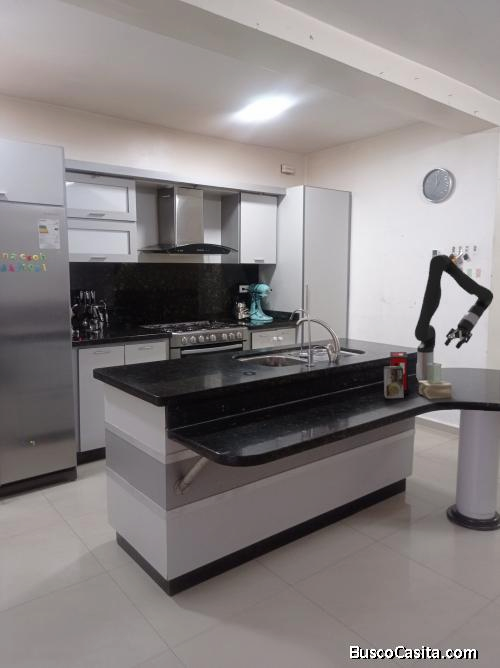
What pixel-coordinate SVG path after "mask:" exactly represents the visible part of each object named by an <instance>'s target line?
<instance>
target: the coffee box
mask: <svg viewBox="0 0 500 668" xmlns="http://www.w3.org/2000/svg"><path fill="white" fill-rule="evenodd" d="M383 385H384V386H383V387H384V388H383V389H384V390H383V392H384V394H383V395H384V398H385V399H404V398H405V397H404V396H405V395H404V394H405V393H404V391H403V368H402V367H401V366H390V365H387V366H386V365H385V366H383Z"/></svg>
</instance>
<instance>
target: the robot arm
mask: <svg viewBox="0 0 500 668" xmlns="http://www.w3.org/2000/svg"><path fill="white" fill-rule="evenodd" d="M428 269H429V270H428V277H427V281H426V286H425V291H424V295H423V299H422V305H421V309H420V313H419V316H418V320H417V323H416V326H415V329H414V337H415V339H416V340H417V341H419V342H420V344H418V346H417V348H416V349H417V351H416V352H417V354H416V355H417V358H416V360H417V361H416V362H417V363H416V364H415V365H416V367H415V368H416V373H415V374H416V375H415V376H416V378H417V381H423V380H427V364H429V363H435V361H434V359H435V357H434V356H435V354H434V352H435V351H434V349H435V347H436V335H437V334H436V329H435V326H433V325H432V324H430V323H431V321H432V318H433V316H434V315H435V314H436V311H438V308H439V306H440V303H441V298H442V284H441V281H442V277H443V273H446V274H448V275H449V276H450V277H451V278H452V279H453V280H454V281H455V282H456V283H457V285H458V286H459V287H460V288H461V289H463V291H465V292H466V293H468V294H469V295H471V296H473V295H474V296H475V297H477V299H476V301H475V302H474V304H472V305H471V306H470V307H469V309H468V311H467V312H466V313H465V314H464V315H463V317H461V319H460V321H459V322H458V324H456V325H457V328H456V329H454V328H453V327H452V328H450V330H448V331H449V332H448V333H447V334H446V336H445V337H446V340H445V342H444V345H445V346H446V347H448V346H450V344H451V342H452V341H454V340H456V339H459V341H457V343H456V345H455V348H456V349H458V350H459V349H460V348H461V347H462V345H463V344H468V343H469V341H470V340H471V338H472V336H473V333H472V331H473V329H474V328H475V327H476V325H477V324H478V322H479V320H480V319H481V317H482V316H483V314H484V313H485V311H486V310H487V309H488V308H489V307H490V305H491V304H492V302H493V300H494V293H493V292H492V291H491V290H490V289H489V288H487V287H485V286H484V285H481V284H479V283H478V282H477V281H475V280H474V279H473V278H472V277H470V276H469V275H468V274H466V273H465V272H464V271H463V270H462V269H461V268H459V266H458V265H457V264H456V262H454V261H453V260H452V259H451V257H449V256H448V255H446V254H436V255H434V256H433V257H432V258H431V259H430V261H429V268H428ZM416 378H415V379H416Z"/></svg>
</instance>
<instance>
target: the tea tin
mask: <svg viewBox="0 0 500 668" xmlns="http://www.w3.org/2000/svg"><path fill="white" fill-rule="evenodd" d="M441 380H442V363H438V362H434V363H429V364H427V382H428V383H432V384H437V383H441Z"/></svg>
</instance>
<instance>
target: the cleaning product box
mask: <svg viewBox="0 0 500 668" xmlns="http://www.w3.org/2000/svg"><path fill="white" fill-rule="evenodd" d="M389 356H390V357H389V358H390V361H389V363H390V364H389V366H401V367H402V368H403V391H404V394H409V372H408V370H409V369H408V368H409V367H408V366H409V364H408V363H409V362H408V361H409V358H408V353H407V352H406V351H390V352H389Z"/></svg>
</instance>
